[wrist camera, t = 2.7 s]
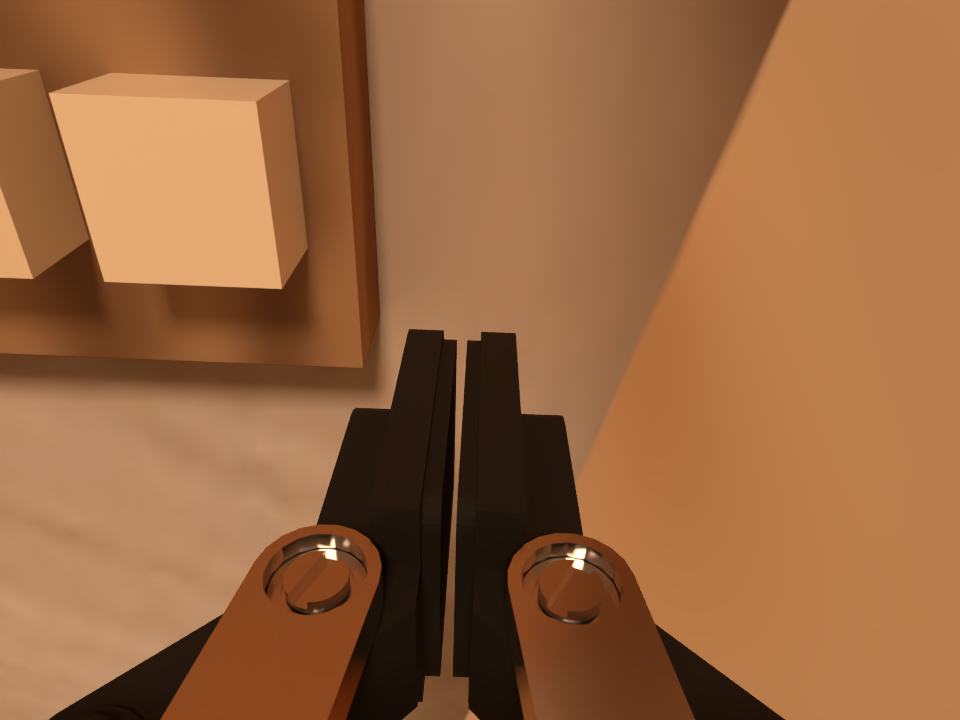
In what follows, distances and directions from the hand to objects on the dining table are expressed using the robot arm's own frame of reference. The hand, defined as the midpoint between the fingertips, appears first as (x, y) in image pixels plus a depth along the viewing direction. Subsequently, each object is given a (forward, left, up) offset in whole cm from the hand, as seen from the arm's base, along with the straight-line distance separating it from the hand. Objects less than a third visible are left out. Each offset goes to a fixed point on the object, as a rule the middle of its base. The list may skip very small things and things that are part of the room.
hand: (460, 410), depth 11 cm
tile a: (+8, -1, -11) cm, 14 cm away
